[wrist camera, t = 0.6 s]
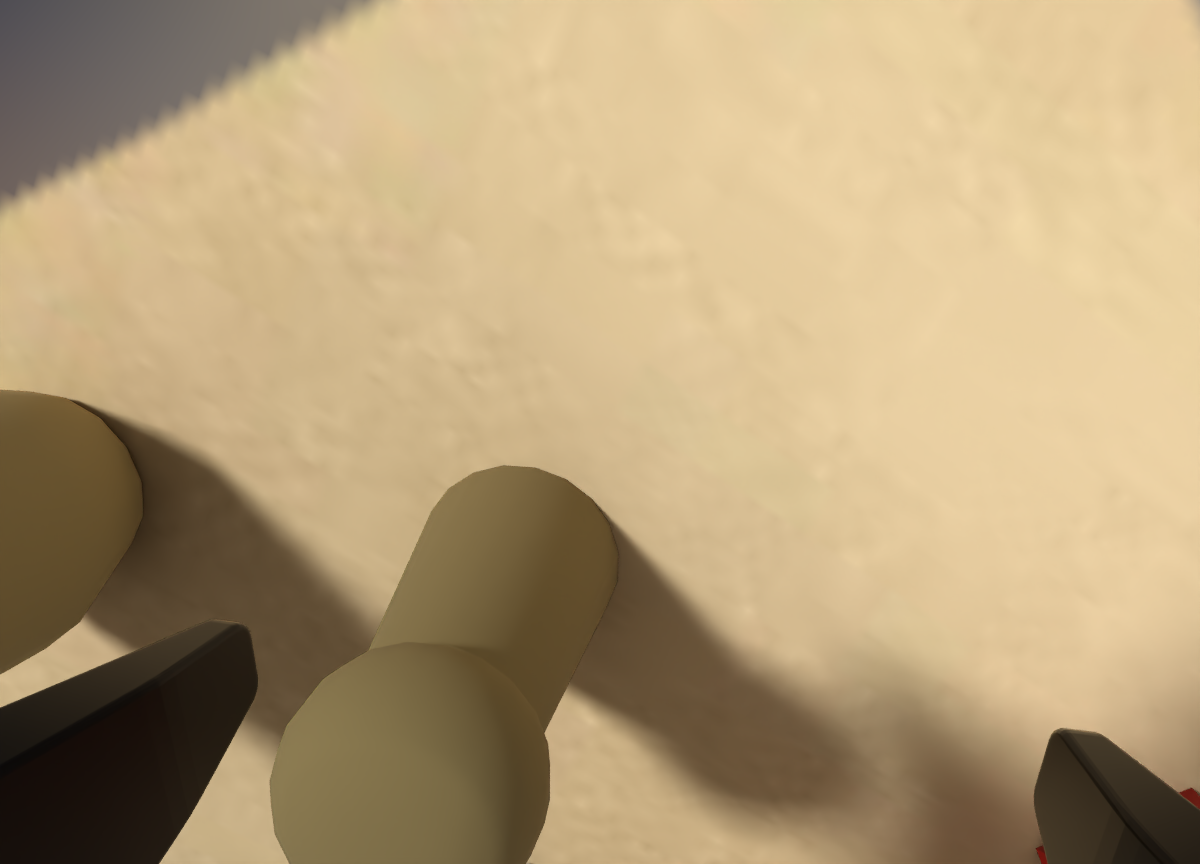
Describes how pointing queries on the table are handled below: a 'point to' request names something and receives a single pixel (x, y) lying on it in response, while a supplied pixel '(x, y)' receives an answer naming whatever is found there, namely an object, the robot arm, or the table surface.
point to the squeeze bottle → (58, 517)
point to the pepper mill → (453, 686)
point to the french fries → (1188, 794)
